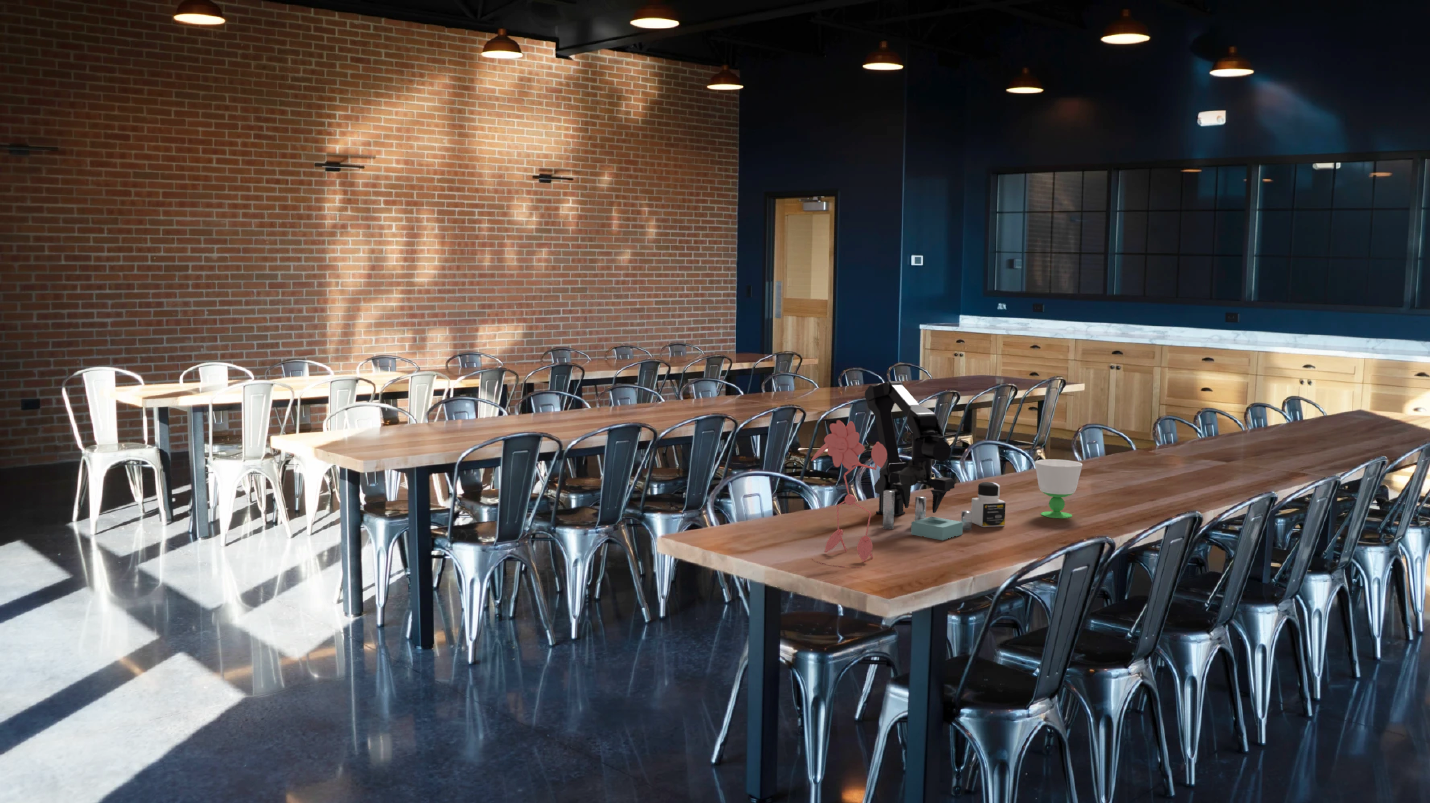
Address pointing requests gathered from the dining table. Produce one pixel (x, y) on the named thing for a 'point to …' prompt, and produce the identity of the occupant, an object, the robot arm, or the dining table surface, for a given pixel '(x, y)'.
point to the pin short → (966, 519)
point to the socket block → (936, 528)
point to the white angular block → (988, 506)
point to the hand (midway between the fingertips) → (920, 510)
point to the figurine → (845, 450)
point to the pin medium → (920, 508)
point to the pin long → (888, 509)
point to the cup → (1057, 483)
